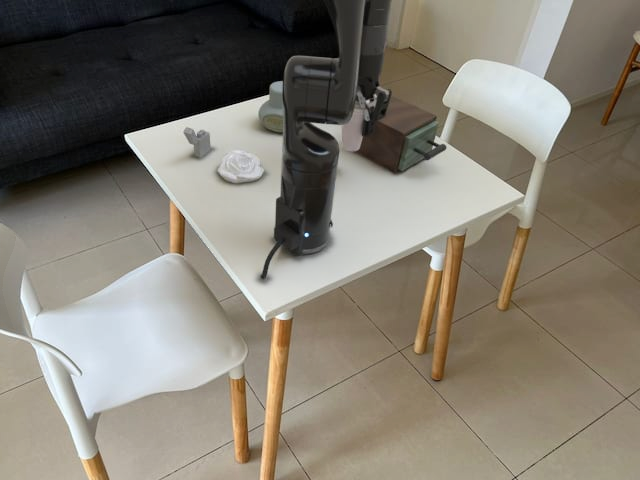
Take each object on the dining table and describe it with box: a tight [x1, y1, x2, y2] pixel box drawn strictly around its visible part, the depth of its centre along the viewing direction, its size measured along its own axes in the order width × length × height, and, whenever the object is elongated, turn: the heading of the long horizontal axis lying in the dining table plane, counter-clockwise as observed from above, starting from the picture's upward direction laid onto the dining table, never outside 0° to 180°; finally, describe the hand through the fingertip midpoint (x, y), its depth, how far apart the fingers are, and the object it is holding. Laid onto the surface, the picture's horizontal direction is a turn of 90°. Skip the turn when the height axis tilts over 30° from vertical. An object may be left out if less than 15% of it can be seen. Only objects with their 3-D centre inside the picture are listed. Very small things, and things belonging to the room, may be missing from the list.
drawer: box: [398, 120, 447, 172], centre depth 115 cm, size 17×10×8 cm, turn 43°
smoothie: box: [341, 100, 371, 152], centre depth 105 cm, size 6×6×14 cm
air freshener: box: [258, 80, 283, 133], centre depth 124 cm, size 11×8×10 cm
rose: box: [217, 149, 265, 184], centre depth 111 cm, size 10×4×10 cm
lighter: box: [183, 126, 212, 159], centre depth 114 cm, size 7×2×8 cm, turn 151°
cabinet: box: [355, 94, 438, 174], centre depth 117 cm, size 14×12×10 cm
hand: (353, 129), depth 107 cm, fingers closed on smoothie, 6 cm apart
